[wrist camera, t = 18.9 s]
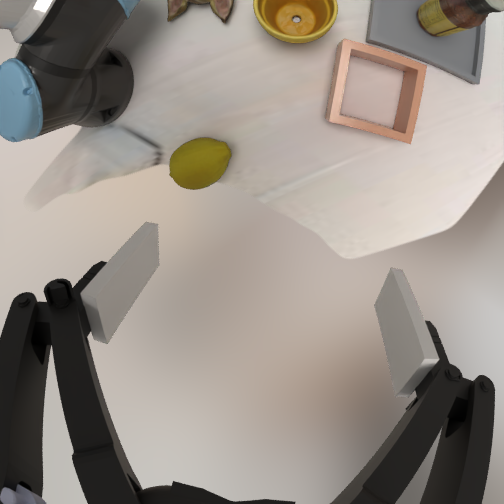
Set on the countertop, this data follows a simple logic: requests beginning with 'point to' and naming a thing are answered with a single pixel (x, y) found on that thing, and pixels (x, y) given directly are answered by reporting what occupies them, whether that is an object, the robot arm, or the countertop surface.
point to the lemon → (199, 163)
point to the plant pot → (288, 6)
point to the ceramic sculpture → (219, 3)
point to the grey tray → (426, 39)
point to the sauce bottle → (455, 15)
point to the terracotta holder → (408, 96)
